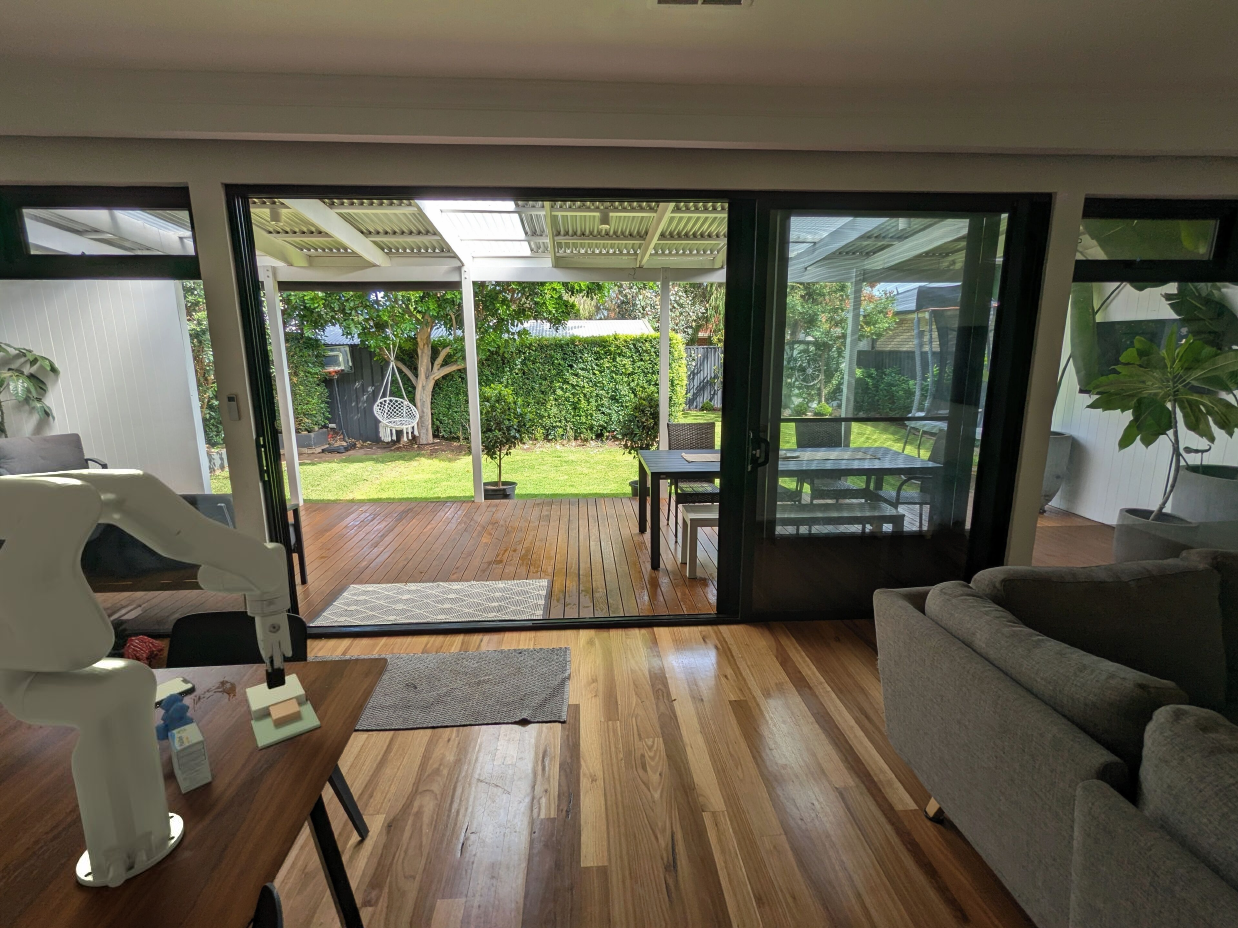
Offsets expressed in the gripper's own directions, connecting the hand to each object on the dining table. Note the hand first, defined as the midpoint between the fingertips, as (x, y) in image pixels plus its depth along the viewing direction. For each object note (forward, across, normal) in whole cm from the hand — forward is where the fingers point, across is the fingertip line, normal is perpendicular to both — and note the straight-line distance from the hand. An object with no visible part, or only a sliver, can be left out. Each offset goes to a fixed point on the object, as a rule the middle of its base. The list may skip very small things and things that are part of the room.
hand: (276, 685), depth 115 cm
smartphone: (+9, +30, +22) cm, 38 cm away
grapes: (+9, +2, +17) cm, 19 cm away
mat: (+8, -2, -1) cm, 9 cm away
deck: (+8, +10, -1) cm, 13 cm away
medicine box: (+9, -8, +15) cm, 20 cm away
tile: (+8, +1, -1) cm, 8 cm away
